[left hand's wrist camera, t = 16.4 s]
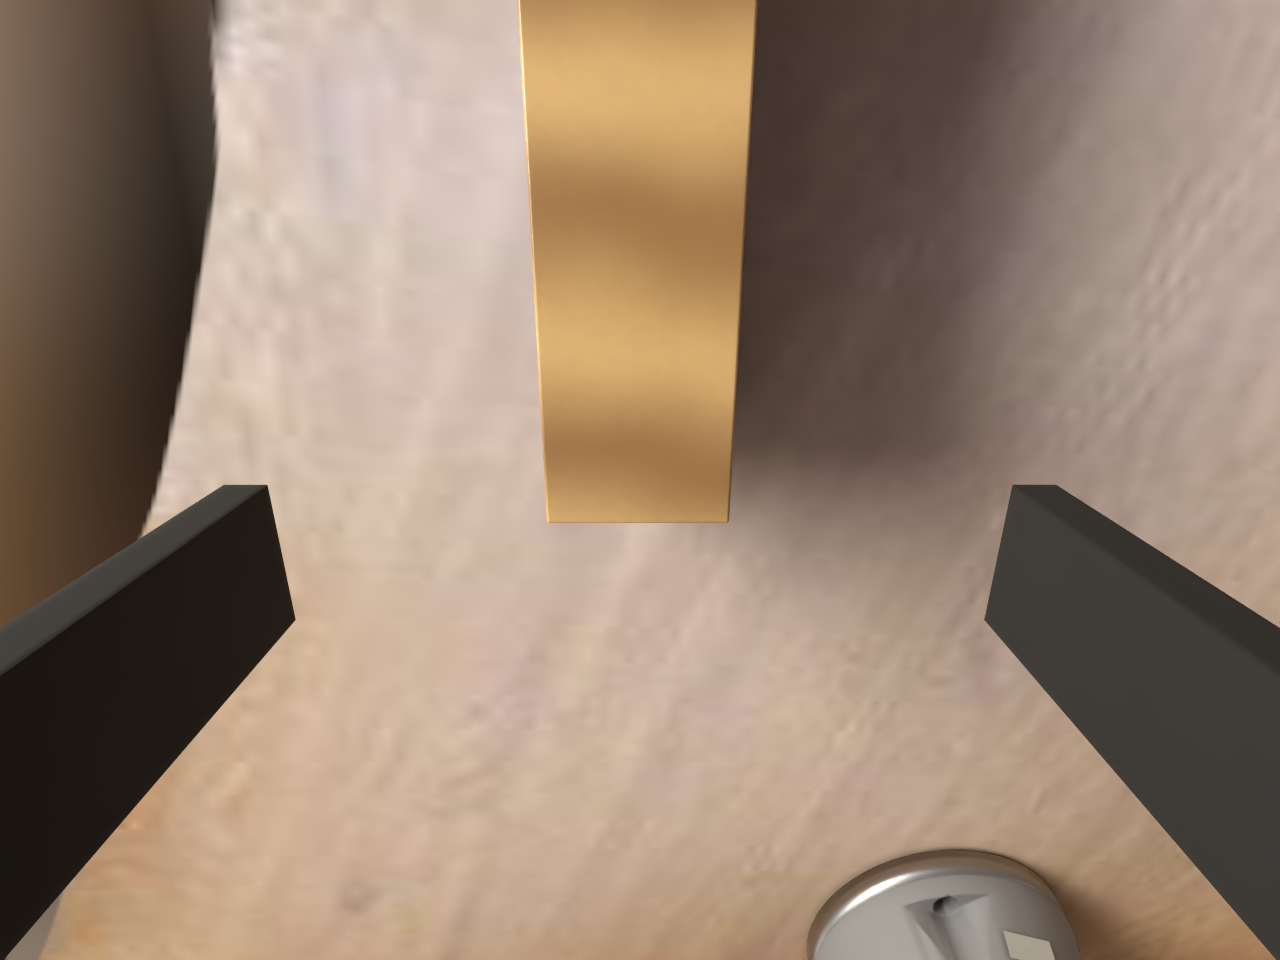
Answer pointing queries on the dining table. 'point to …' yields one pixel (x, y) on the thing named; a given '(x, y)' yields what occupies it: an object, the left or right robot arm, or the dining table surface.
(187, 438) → the dining table surface
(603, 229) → the bar
